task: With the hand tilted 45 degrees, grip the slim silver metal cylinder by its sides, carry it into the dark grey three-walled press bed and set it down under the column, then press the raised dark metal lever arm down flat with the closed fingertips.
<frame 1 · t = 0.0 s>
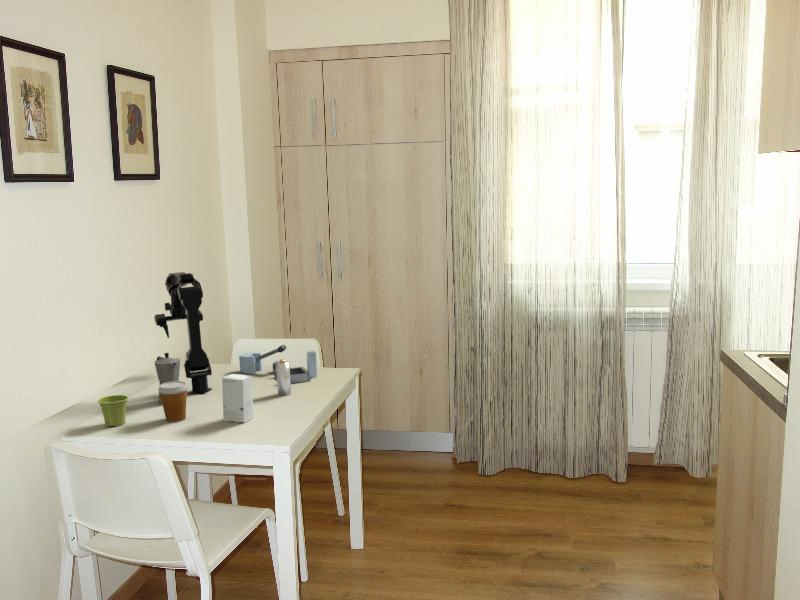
hand: (179, 336, 305), 15 cm above the table, tool pointing down, fingers open, 9 cm apart
lever frame: (255, 371, 304), on the table
coffeepot: (169, 400, 267), on the table
silver metal cylinder: (284, 394, 269), on the table
skincare box: (239, 420, 242), on the table
plant pot: (115, 424, 242), on the table
press bed: (291, 379, 290), on the table
lever: (270, 353, 301), point 8 cm above the table, hinge at -22.0°
disposable coffee cup: (175, 419, 245), on the table
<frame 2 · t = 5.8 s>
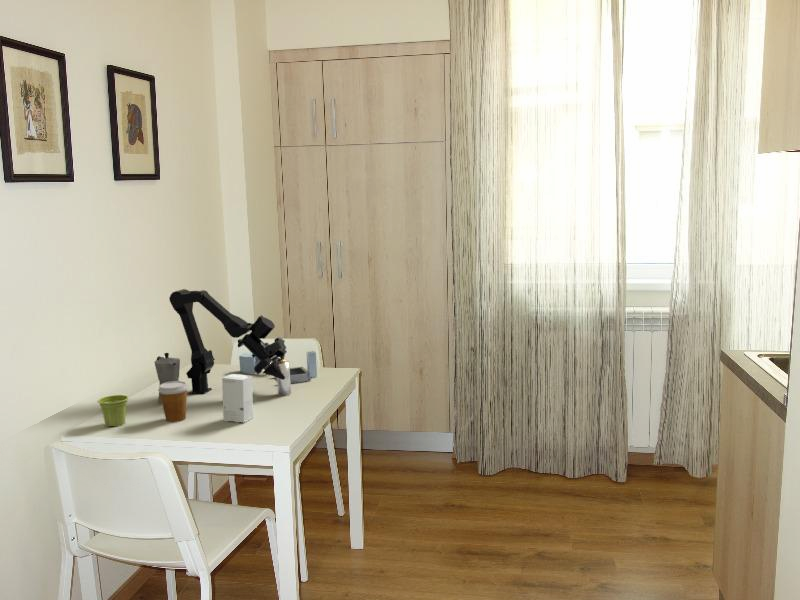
hand: (287, 376, 268), 7 cm above the table, tool tilted 45°, fingers closed on silver metal cylinder, 5 cm apart
silver metal cylinder: (284, 394, 269), on the table, touching gripper
everything else where it was.
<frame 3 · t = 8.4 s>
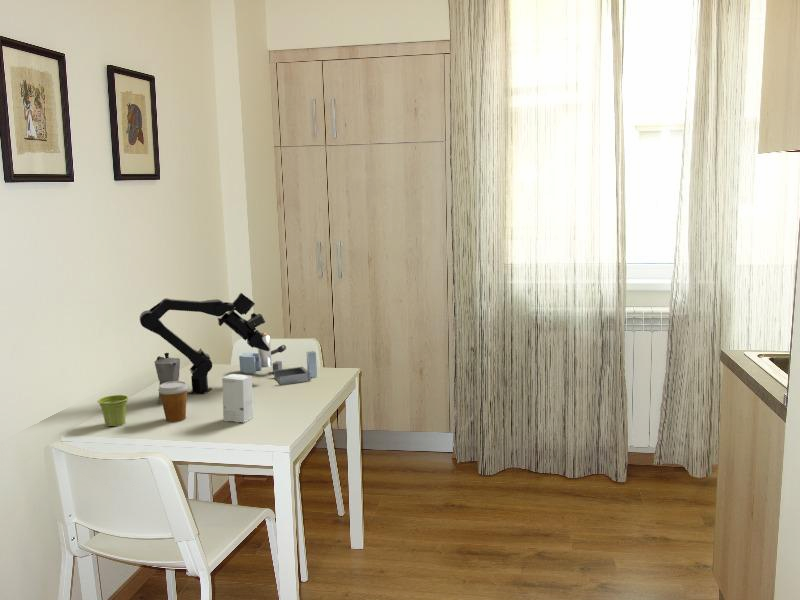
hand: (267, 349, 284), 13 cm above the table, tool tilted 45°, fingers closed on silver metal cylinder, 5 cm apart
silver metal cylinder: (265, 365, 285), point 7 cm above the table, touching gripper
everything else where it was.
when the fingers open (8 cm above the table, at t = 11.1 s): silver metal cylinder stays where it is, resting on press bed.
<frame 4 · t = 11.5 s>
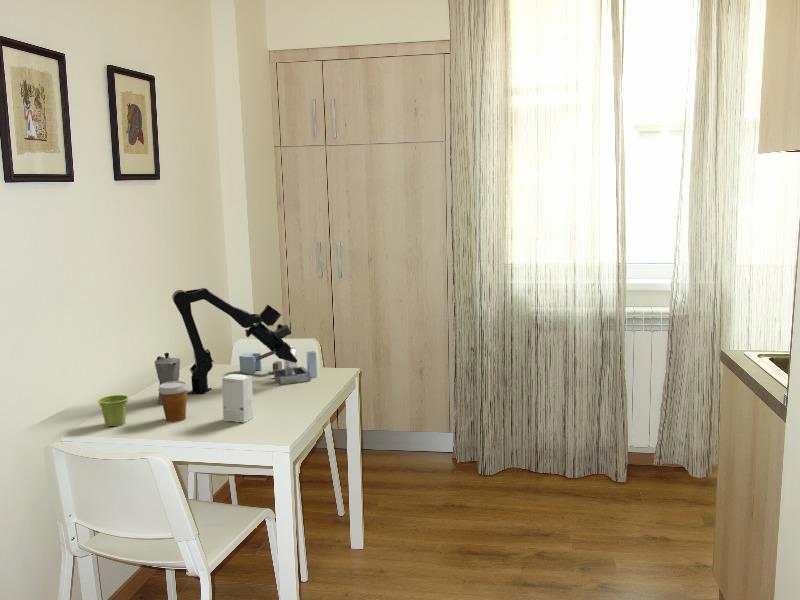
hand: (293, 359, 289), 8 cm above the table, tool tilted 45°, fingers open, 9 cm apart
silver metal cylinder: (291, 378, 290), resting on press bed
everything else where it was.
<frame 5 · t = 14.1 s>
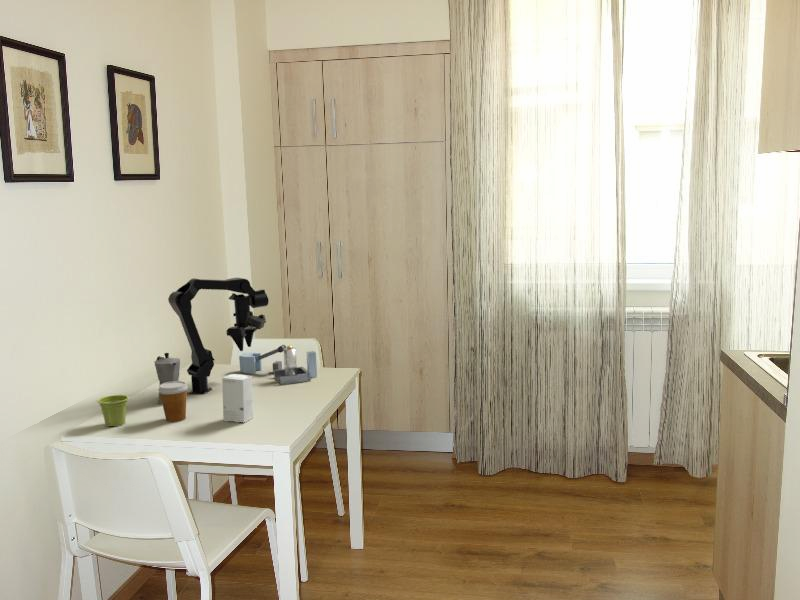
hand: (245, 348, 288), 13 cm above the table, tool pointing down, fingers open, 7 cm apart
nothing on the table moved.
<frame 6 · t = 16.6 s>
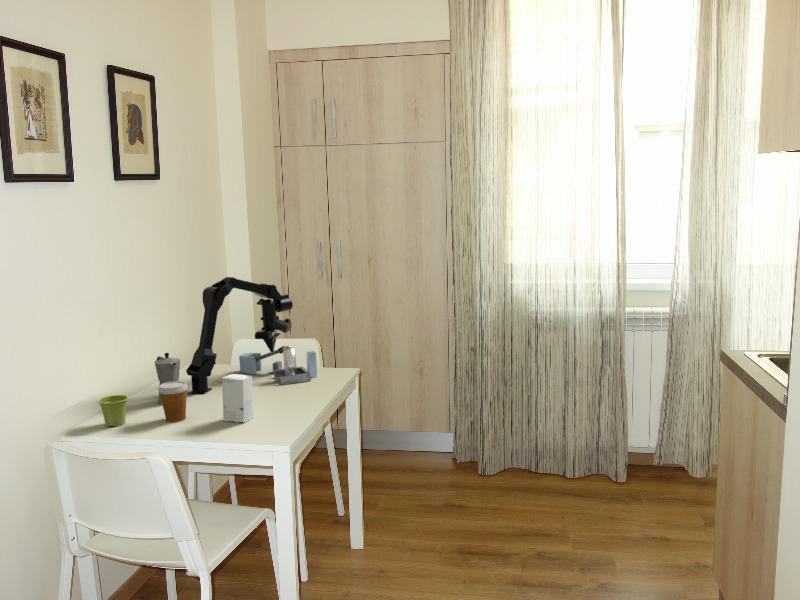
hand: (272, 351, 301), 9 cm above the table, tool pointing down, fingers closed, pressing on lever
lever: (270, 354, 301), point 8 cm above the table, hinge at -19.9°, touching gripper
everything else where it was.
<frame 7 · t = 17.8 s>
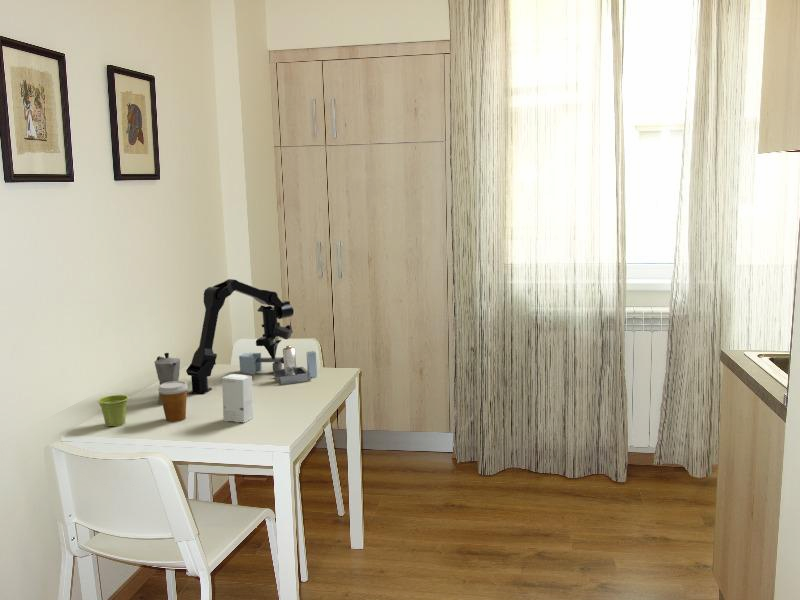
hand: (273, 358, 301), 6 cm above the table, tool pointing down, fingers closed, pressing on lever
lever: (272, 359, 301), point 5 cm above the table, hinge at -1.9°, touching gripper
everything else where it was.
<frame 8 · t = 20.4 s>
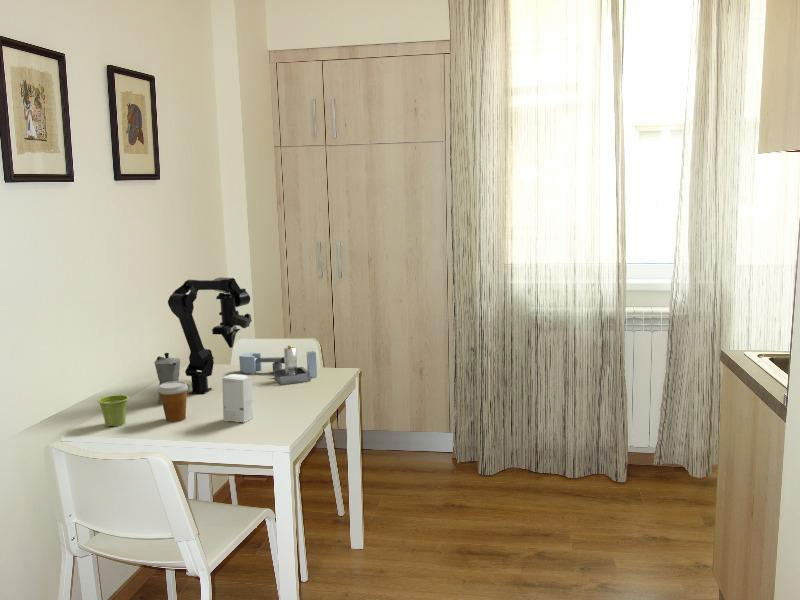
hand: (231, 347, 291), 13 cm above the table, tool pointing down, fingers closed
lever: (272, 359, 301), point 5 cm above the table, hinge at -1.9°
everything else where it was.
at the end: silver metal cylinder 0.1 cm from the press bed (horizontally); silver metal cylinder tilted 2°; lever at -2° (first picture: -22°) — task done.
